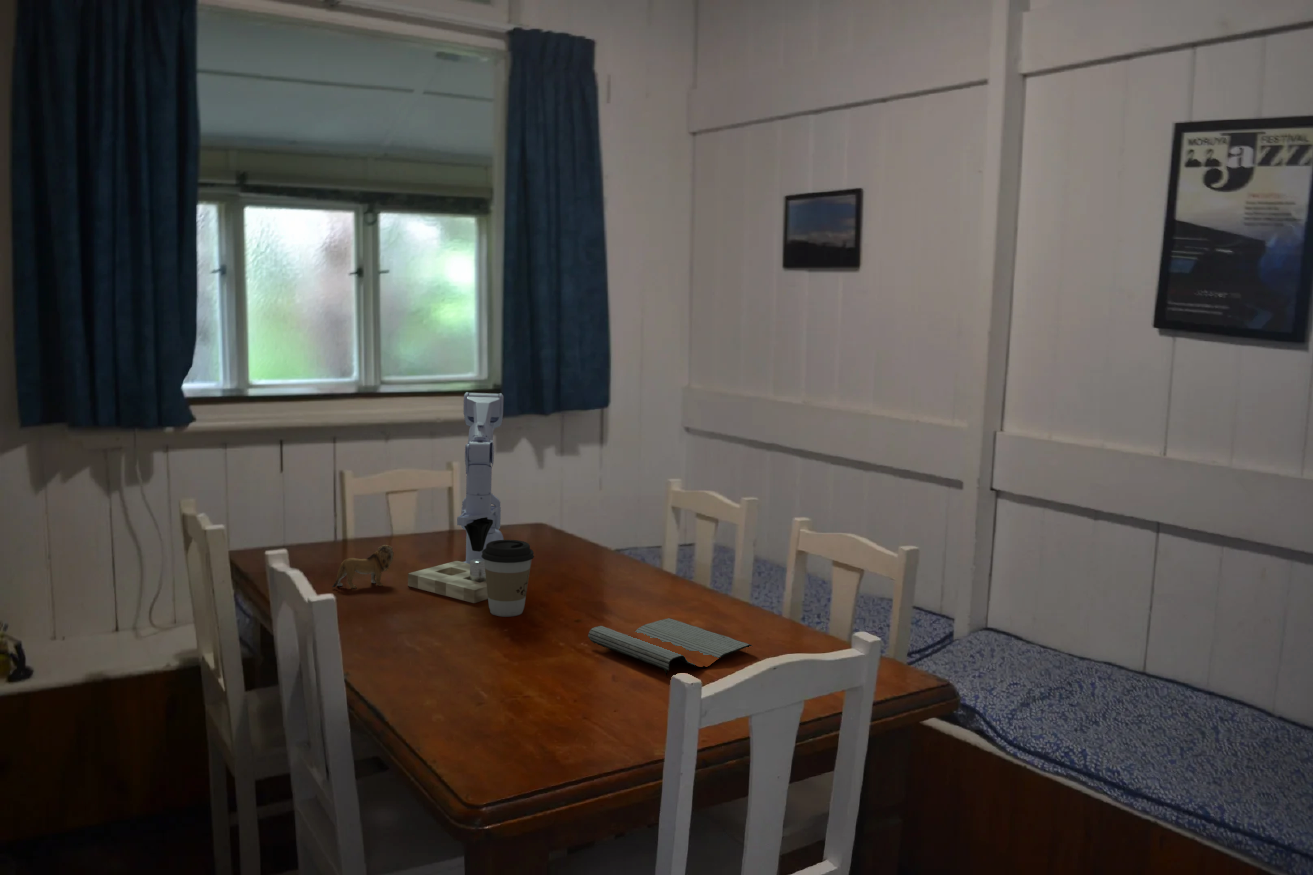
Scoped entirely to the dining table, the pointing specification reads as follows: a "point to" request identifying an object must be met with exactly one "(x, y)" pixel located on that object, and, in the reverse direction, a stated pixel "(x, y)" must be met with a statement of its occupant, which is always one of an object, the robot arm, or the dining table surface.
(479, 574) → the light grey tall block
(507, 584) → the coffee cup
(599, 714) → the dining table surface
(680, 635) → the mat
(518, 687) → the dining table surface
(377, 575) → the lion figurine
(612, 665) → the dining table surface
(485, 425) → the robot arm
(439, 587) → the jig plate
